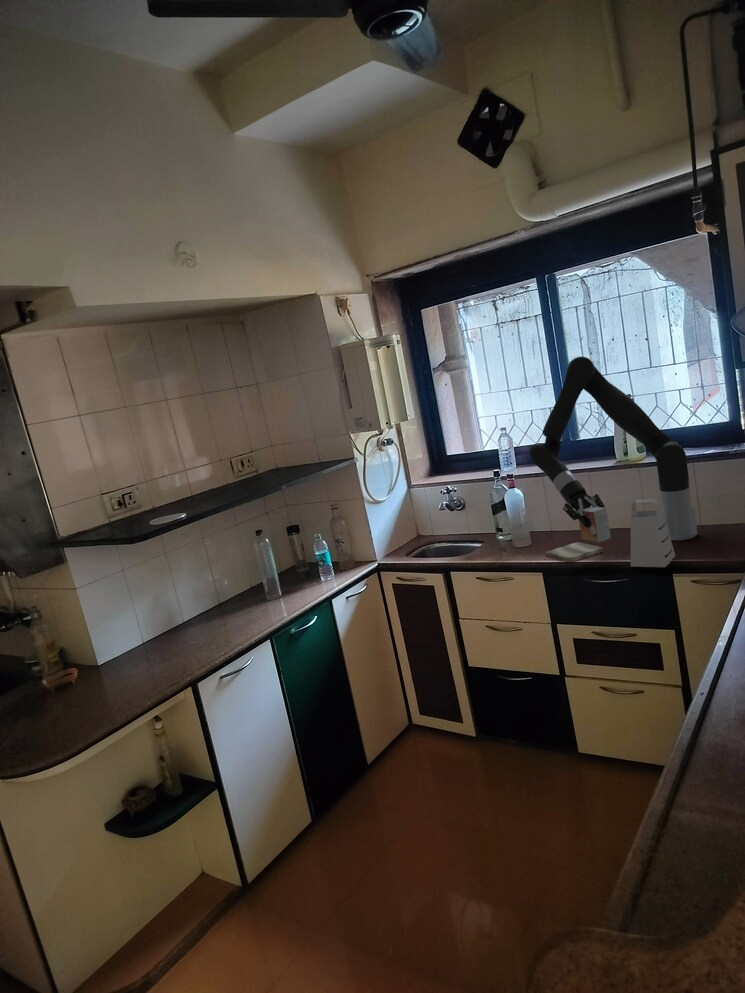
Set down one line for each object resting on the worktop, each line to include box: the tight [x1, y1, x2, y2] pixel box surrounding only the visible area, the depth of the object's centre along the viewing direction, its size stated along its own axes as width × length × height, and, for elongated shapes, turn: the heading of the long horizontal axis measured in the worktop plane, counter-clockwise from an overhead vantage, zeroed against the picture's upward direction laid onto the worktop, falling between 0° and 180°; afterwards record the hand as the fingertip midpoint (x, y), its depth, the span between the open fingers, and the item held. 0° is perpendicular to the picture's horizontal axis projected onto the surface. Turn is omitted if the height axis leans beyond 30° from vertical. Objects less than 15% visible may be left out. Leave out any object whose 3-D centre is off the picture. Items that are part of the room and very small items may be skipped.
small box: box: [578, 505, 611, 543], centre depth 221 cm, size 8×6×10 cm
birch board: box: [545, 541, 604, 563], centre depth 235 cm, size 14×14×2 cm
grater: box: [630, 498, 676, 568], centre depth 209 cm, size 10×10×20 cm
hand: (597, 523), depth 219 cm, fingers closed on small box, 6 cm apart
